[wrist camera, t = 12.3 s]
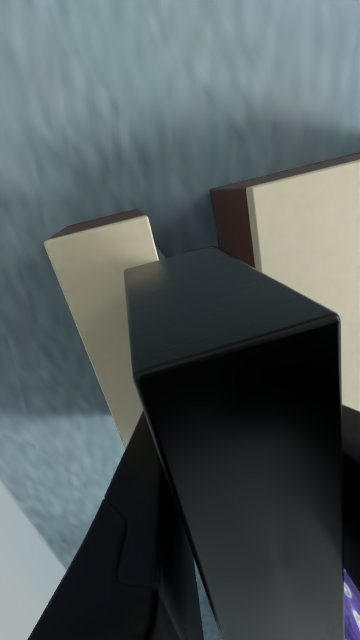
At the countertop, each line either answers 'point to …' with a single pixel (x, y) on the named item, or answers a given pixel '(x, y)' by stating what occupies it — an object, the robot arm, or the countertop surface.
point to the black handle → (246, 437)
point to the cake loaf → (303, 241)
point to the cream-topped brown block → (105, 299)
